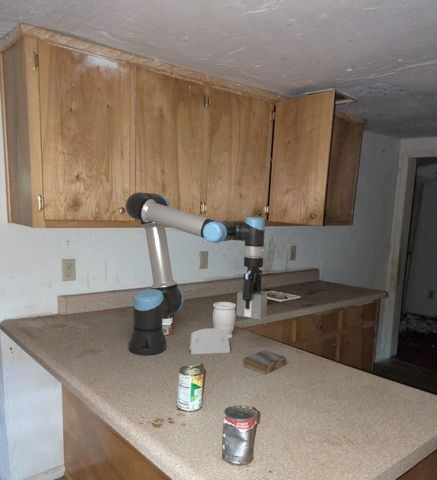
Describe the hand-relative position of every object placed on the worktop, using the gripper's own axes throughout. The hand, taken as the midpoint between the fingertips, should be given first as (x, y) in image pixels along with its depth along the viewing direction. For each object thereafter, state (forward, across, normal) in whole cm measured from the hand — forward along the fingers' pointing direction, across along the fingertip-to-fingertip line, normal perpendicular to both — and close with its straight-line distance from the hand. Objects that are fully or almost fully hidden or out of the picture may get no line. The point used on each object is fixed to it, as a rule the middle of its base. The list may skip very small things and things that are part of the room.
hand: (251, 314), depth 152 cm
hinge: (+17, -3, +17) cm, 24 cm away
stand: (+17, -6, -8) cm, 20 cm away
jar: (+17, +16, +19) cm, 30 cm away
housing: (0, 0, 0) cm, 0 cm away
